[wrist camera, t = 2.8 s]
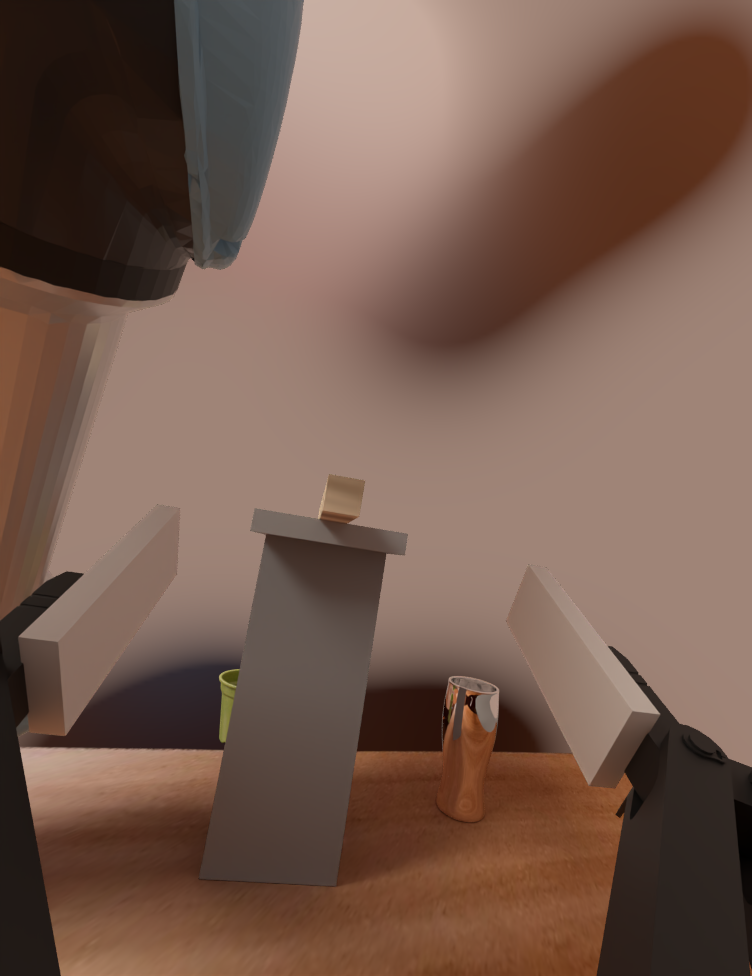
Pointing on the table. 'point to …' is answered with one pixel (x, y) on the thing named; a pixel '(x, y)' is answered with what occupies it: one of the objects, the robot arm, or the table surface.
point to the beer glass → (467, 746)
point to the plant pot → (227, 699)
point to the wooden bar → (341, 499)
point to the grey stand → (298, 702)
